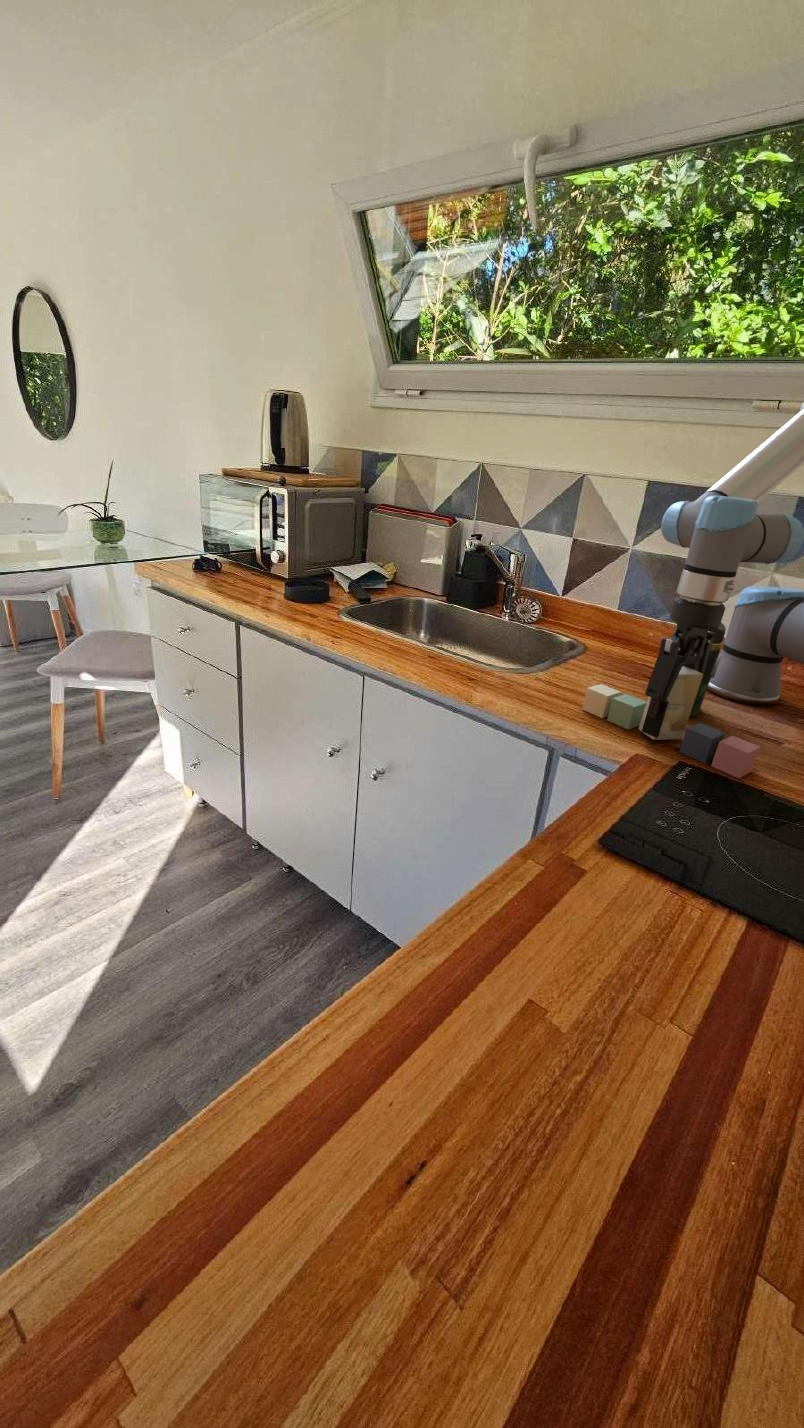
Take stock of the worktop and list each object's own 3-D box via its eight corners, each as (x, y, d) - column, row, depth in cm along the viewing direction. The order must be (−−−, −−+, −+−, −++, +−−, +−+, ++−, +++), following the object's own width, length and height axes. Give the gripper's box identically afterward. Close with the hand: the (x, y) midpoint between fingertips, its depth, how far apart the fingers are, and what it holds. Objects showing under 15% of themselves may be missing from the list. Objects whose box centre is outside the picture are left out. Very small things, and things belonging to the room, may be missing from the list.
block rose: (723, 759, 99) (731, 735, 97) (751, 771, 96) (760, 746, 94) (710, 766, 96) (719, 741, 94) (739, 778, 93) (748, 753, 91)
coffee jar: (698, 721, 113) (728, 627, 105) (654, 710, 116) (681, 617, 108) (700, 705, 121) (729, 616, 113) (659, 695, 124) (685, 608, 116)
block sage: (620, 715, 112) (626, 693, 110) (641, 724, 109) (648, 702, 107) (606, 720, 109) (612, 698, 108) (628, 730, 106) (634, 707, 104)
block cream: (595, 705, 116) (600, 683, 114) (615, 713, 113) (621, 691, 111) (582, 709, 113) (587, 687, 111) (602, 718, 110) (607, 696, 108)
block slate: (691, 746, 102) (699, 722, 101) (717, 757, 99) (725, 732, 98) (678, 752, 100) (686, 728, 98) (704, 763, 97) (713, 738, 95)
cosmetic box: (652, 741, 101) (672, 673, 96) (637, 729, 105) (655, 664, 100) (684, 739, 103) (705, 673, 98) (667, 728, 107) (687, 664, 102)
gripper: (693, 611, 86) (651, 751, 95) (751, 600, 98) (709, 725, 107) (645, 598, 91) (610, 732, 100) (707, 589, 103) (670, 710, 112)
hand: (661, 729), depth 104 cm, fingers closed on cosmetic box, 7 cm apart
